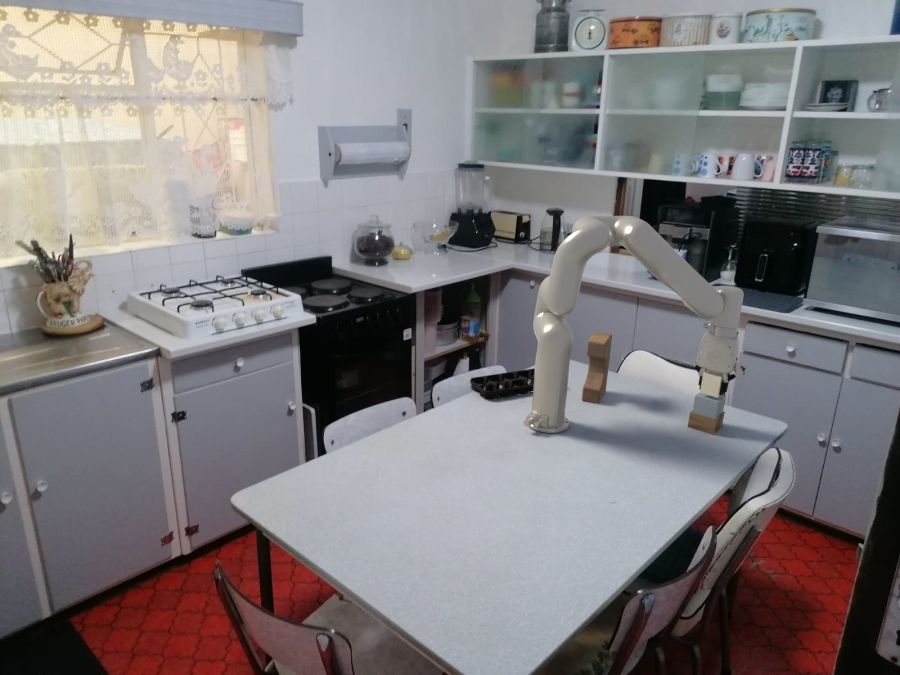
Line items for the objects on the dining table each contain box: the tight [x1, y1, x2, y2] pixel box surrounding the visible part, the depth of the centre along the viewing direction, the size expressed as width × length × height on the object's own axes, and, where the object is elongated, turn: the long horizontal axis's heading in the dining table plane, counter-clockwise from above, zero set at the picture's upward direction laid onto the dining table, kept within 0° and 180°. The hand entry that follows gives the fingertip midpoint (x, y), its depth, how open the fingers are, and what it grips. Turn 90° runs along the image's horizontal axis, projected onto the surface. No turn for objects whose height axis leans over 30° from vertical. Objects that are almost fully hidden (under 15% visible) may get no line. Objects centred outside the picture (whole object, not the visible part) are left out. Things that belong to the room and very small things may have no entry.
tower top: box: [692, 392, 726, 418], centre depth 188 cm, size 6×6×5 cm
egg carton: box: [469, 367, 535, 401], centre depth 213 cm, size 18×30×4 cm, turn 127°
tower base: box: [687, 409, 726, 436], centre depth 189 cm, size 8×8×5 cm
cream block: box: [699, 369, 723, 398], centre depth 186 cm, size 5×5×6 cm
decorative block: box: [581, 331, 613, 405], centre depth 206 cm, size 11×6×20 cm, turn 155°
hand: (712, 390), depth 186 cm, fingers closed on cream block, 5 cm apart
